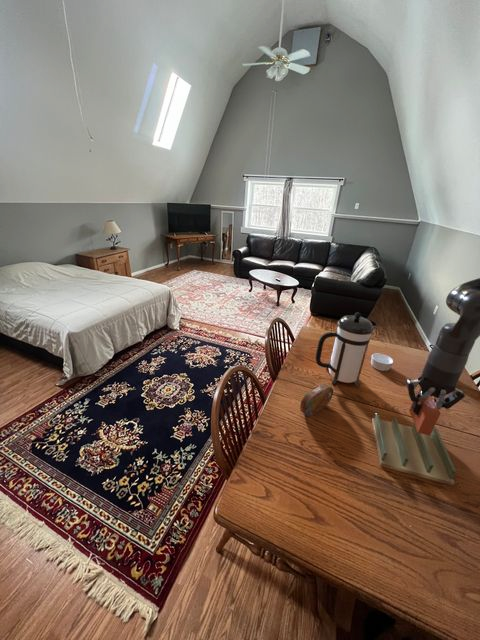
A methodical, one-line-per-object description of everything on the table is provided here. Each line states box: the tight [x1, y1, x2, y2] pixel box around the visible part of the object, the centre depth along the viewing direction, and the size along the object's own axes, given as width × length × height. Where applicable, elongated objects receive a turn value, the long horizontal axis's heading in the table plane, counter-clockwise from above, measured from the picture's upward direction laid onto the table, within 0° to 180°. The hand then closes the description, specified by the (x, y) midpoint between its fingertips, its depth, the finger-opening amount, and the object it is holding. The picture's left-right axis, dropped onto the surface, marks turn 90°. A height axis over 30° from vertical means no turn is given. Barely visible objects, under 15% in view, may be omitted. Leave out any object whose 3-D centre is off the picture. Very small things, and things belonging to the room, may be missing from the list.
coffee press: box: [315, 312, 375, 388], centre depth 106 cm, size 17×16×30 cm
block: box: [409, 389, 441, 436], centre depth 75 cm, size 3×9×8 cm, turn 163°
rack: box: [371, 412, 457, 487], centre depth 81 cm, size 18×18×4 cm
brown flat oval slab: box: [299, 383, 334, 417], centre depth 94 cm, size 15×3×8 cm, turn 126°
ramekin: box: [370, 352, 394, 372], centre depth 121 cm, size 9×9×4 cm
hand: (422, 414), depth 76 cm, fingers closed on block, 3 cm apart
